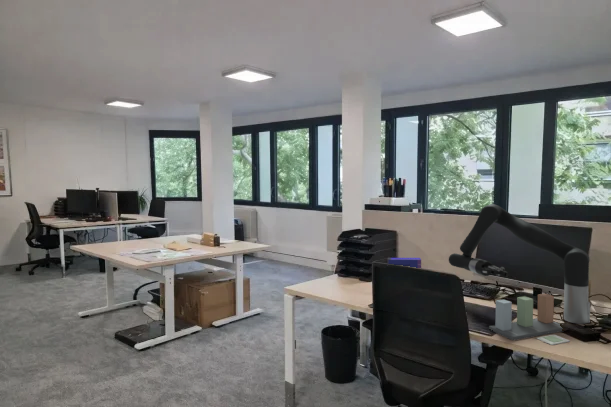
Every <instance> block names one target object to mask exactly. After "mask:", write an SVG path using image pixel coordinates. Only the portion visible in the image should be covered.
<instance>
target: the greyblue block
mask: <svg viewBox="0 0 611 407" xmlns="http://www.w3.org/2000/svg"><path fill="white" fill-rule="evenodd" d="M512 306H513V304H512V301H510V300H506V299H498V300H497V299H496V300H495V321H494V322H495V324H494V325H495V327H496V328H498V329H500V330H502V331H505V330H511V322H512V318H513V317H512V316H513V314H512V313H513V312H512V308H513V307H512Z"/></svg>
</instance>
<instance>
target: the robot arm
mask: <svg viewBox="0 0 611 407" xmlns="http://www.w3.org/2000/svg"><path fill="white" fill-rule="evenodd" d="M494 223H496V224H498V225H500V226H502V227H505V228H506V229H507V230H509V232H511V233H512V234H513V235H514V236H516V238H518V239H519V240H521V242H524V243H526V244H527V245H529V246H531V247H534V248H536V249H539V250H541V251H545V252H548V253H550V254H552V255H555V257H557V258H559V259H561V260H563V265H564V266H563V268H564V269H563V273H564V274H563V278H564V284H563V285H564V287H563V288H564V289H563V291H564V293H563V294H564V295H563V296H564V297H563V319H564V321H566V322H569V323H571V324H572V323H573V324H579V325H585V324H590V323H591V302H590V301H589V281H590V280H589V278H590V277H589V274H590V273H589V270H590V268H589V267H590V256H589V254H588V253H587V252H586V250H583V249H581V248H578V247H576V246H574V245H571V244H569V243H566V242H564V241H562V240H560V239H559V238H557V237H555V236H554V235H552V234H550V233H549V232H547V231H546V230H544V229H541V227H538V226H536V225H534V224H532V223H530V222H528V221H526V220H524V219H522V218H519V217H517V216H515V215H514V214H512V213H510V212H508V211H507V210H505V209H504V208H503V207H501V206H500V205H497V204H494V203H492V204H491V203H490V204H487V205H484V206H483V207H482V208H481V210H480V212H479V215H478V217H477V219H476V221H475V223H474V225H473V227H472V229H471V230H470V232H468V234H467V235H466V236H465V239H464V240H463V241H462V243H461V244H460V246H459V250H460V252H462V254H460V253H456V252H455V253H452V254H450V255H449V256H448V263H449V264H450V265H451V266H453V267H456V268H460V269H463V270H466V271H469V272H471V273H474V274H477V275H479V276H480V275H481V276H483V277H488V276H494V277H496V276H501V277H504V278H507V277H509V275H510V272H509V271H506V268H505V267H504V266H501V267H498V266H496V265H493V263H492V262H490V261H488V260H484V259H481V258H476V257H475V258H474V257H472V256H473V253H474V252H475V250H476V248H478V246H479V244H480V242H481V241H482V239H483V237H484V234H485V233H486V232H487V230H488V229H489V228H490V227H491V226H492V225H493V224H494Z"/></svg>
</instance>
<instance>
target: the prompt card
mask: <svg viewBox="0 0 611 407" xmlns="http://www.w3.org/2000/svg"><path fill="white" fill-rule="evenodd" d="M536 340H538V341H541V342H544V343H546V344H547V345H550V346H556V345H560V344H565V343H569V342H571V341H570V339H566V338H564V337H562V336H560V335H557V334H555V333H553V334H548V335H544V336H543V335H542V336H537V337H536Z"/></svg>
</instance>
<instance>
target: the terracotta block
mask: <svg viewBox="0 0 611 407" xmlns="http://www.w3.org/2000/svg"><path fill="white" fill-rule="evenodd" d="M554 298H555V296H554V295H551V294H548V293H540V294H537V317H536V318H537V320H538V321H541V322H543V323H552V322H553V321H554V316H555V315H554V306H555V300H554Z"/></svg>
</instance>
